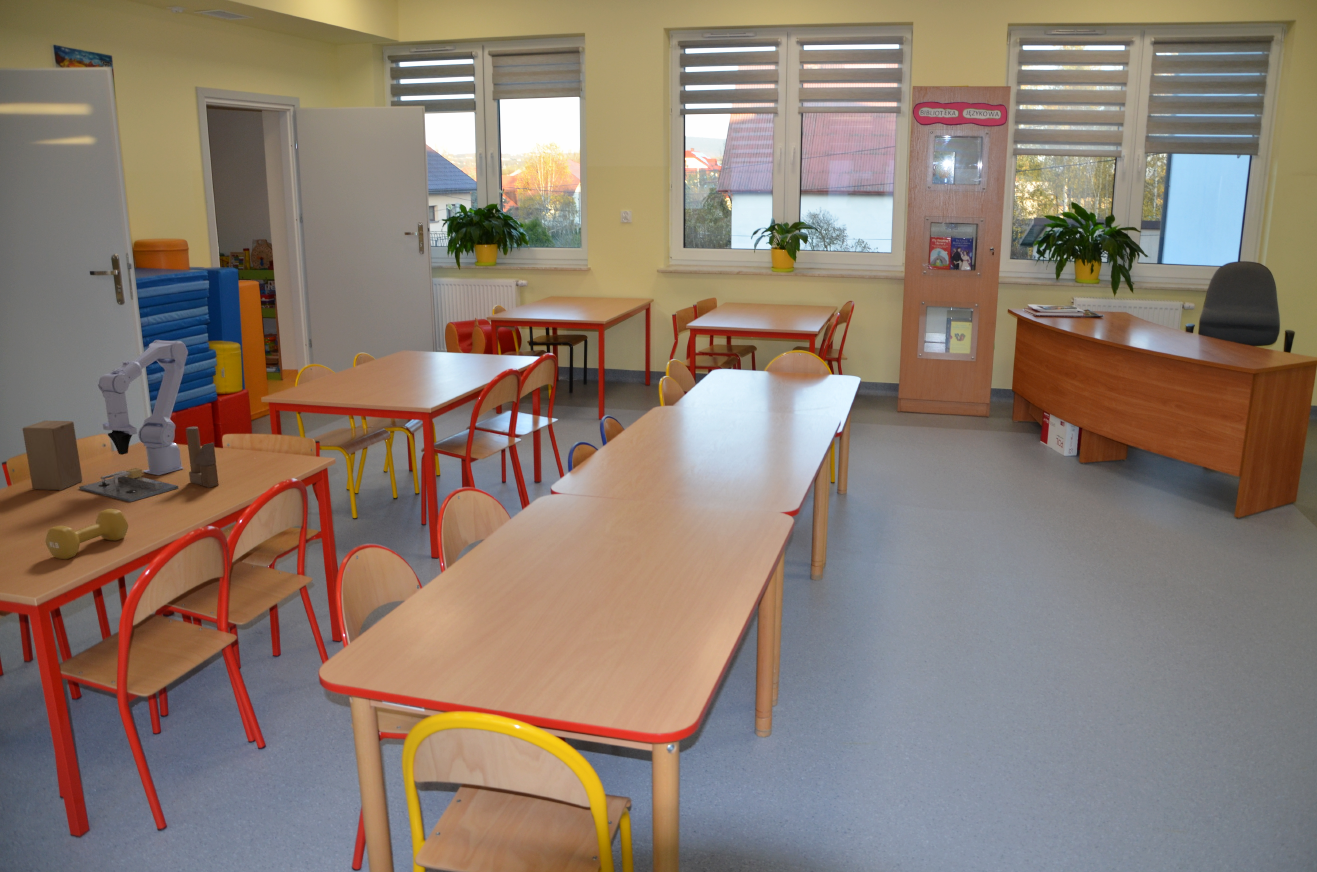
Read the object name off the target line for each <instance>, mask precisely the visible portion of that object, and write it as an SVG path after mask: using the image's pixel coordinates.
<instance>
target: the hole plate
mask: <svg viewBox="0 0 1317 872" xmlns="http://www.w3.org/2000/svg"><path fill="white" fill-rule="evenodd" d="M122 473H126V470H119V471H117V472H115V471H114V472H113V473H111V474H106V475H103V476H100V479H101V480H100V481H99V480H98V481H96V482H93V483H88V484H84V485H80V486H79V488H78V489H79V490H81V491H85V492H89V493H92V494H96V495H101V496H105V497H109V498H113V499H117V500H120V501H125V502H128V503H132V502H135V501H139V500H142V499H146V498H149V497H152V496H157V495H160V494H163V493H166V492H170V491H173V490H177V489H179V485H176V484H172V483H169V482H165V481H164V482H163V481H159V480H155V479H151V478H146V477H143V476H140V477H136V478H129V477H127V475H126V476H122V477H118V483H119V487H116V485H115V479H114V478H113V476H115V475H119V474H122Z"/></svg>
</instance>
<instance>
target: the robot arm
mask: <svg viewBox="0 0 1317 872" xmlns="http://www.w3.org/2000/svg"><path fill="white" fill-rule="evenodd" d="M188 355H189V350H188V349H187V346H186V344H185V343H184V342H183V341H181V340H177V341H176V340H175V341H174V340H160V339H155V340H154V341H152V342H151V343H150V344H148V348H147V349H145V350H144V351H143V352H142V353H141V354H140V355H139V356H138V357H137V358H136V359H134V360H124V361H123V362H122V364H121V365H120V366H119V367H117V368H116V369H113V370H112V371H111V372H110V373H104V374H103V375H101V377H100V378H99V381H98V383H97V386H98V389H99V391H101V393H102V397H103V398H104V401H105V409H106V414H107V415H106V416H107V422H103V423H102V428H103V430H106V431H111V432H107V436H108V437H109V438H110V440H111V441H112V442H113V444H114V446H115V449H116V451H117V453H118V455H127V454H128V453H129V447H130V443H131V439H132V437H133V435H138V436H137V437H138V440H139V441H140V442H141V443H142V444H143V447H145V450H146V457H147V465H148V466H147V467H148V469H145V470H142V473H146V474H149V475H154V476H160V475H165V474H167V473H168V474H169V473H173V472H176V471H180V470H183V469H184V466H182V458H181V451H180V448H179V446H178V444H177V443H175V442H174V440H175V436H176V435H175V430H176V424H175V423H174V422H173V421H172V420H171V418H172V414H173V409H174V406H175V404H176V400H177V398H178V397H177V396H178V393H179V389H180V386H181V382H182V380H183V375H184V372H185V366H186V361H187V358H188ZM155 361H156V362H157V363H158V364H159V365H160V367H162V368H163V369H164V374H163V376H162V380H161V384H160V387H159V390H158V394H157V396H156V397H157V398H156V401H155V404H154V408H153V411H152V414H151V415H150V416H149V417H147V418H145V419H144V421H143V424H142V425H141V427H140V428H139V430H137V427H135V426H134V425H132V424H131V423H130V419H129V411H128V403H127V396H126V392H127V391H128V389H129V386H130V384H131V383H132V382H133V381H135V380H136V379H137V378H138V377H140V376H141V375H142V373H143V371H142V370H143V369H145V368H146V367H148V366H149V365H151V364H153V363H154V362H155ZM137 431H138V432H137Z"/></svg>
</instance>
